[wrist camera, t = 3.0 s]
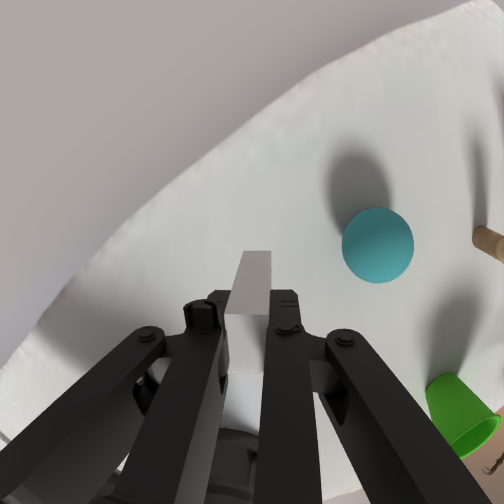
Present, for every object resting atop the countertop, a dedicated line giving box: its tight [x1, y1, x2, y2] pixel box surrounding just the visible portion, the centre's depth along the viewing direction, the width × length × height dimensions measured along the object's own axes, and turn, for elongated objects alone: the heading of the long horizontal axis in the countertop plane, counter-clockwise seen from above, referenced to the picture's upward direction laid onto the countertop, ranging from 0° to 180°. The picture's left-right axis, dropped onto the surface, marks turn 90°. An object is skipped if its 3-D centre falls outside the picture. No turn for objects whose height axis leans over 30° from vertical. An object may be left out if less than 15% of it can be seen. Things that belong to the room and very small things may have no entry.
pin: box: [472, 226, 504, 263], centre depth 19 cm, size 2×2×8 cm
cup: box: [426, 373, 501, 459], centre depth 25 cm, size 9×9×11 cm
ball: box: [342, 208, 414, 283], centre depth 22 cm, size 6×6×6 cm
